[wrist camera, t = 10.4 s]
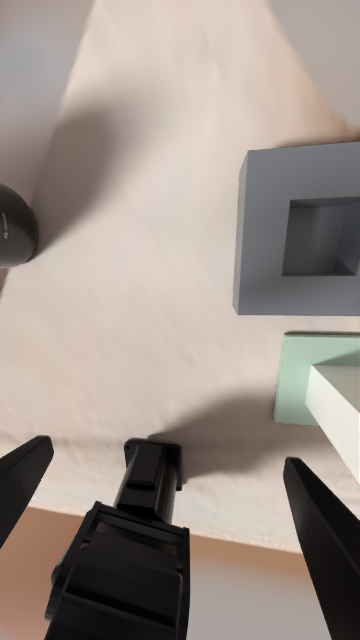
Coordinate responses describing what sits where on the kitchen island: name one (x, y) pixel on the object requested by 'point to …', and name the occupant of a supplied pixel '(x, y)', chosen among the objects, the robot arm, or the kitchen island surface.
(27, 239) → the supplement bottle
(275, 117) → the kitchen island surface
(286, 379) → the mat
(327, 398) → the plug
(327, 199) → the grey square socket block
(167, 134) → the kitchen island surface
